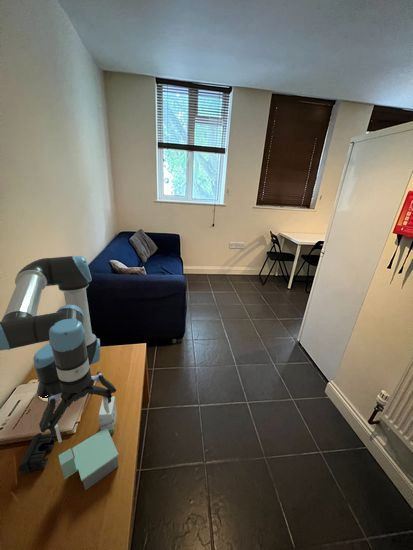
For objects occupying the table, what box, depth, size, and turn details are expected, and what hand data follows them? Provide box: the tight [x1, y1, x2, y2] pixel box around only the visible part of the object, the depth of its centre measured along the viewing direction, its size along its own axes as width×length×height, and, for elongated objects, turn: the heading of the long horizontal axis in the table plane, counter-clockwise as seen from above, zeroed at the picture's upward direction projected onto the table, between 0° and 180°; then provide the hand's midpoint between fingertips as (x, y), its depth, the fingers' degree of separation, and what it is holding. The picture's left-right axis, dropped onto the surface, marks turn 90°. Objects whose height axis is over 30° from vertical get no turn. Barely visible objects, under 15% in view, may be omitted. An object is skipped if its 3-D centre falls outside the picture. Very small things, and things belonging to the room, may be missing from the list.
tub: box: [82, 456, 119, 491], centre depth 80 cm, size 11×11×7 cm
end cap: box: [18, 432, 56, 474], centre depth 81 cm, size 10×7×7 cm
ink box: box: [98, 395, 118, 434], centre depth 92 cm, size 8×5×12 cm, turn 12°
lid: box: [58, 427, 120, 482], centre depth 76 cm, size 12×16×8 cm
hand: (84, 423), depth 70 cm, fingers open, 13 cm apart
